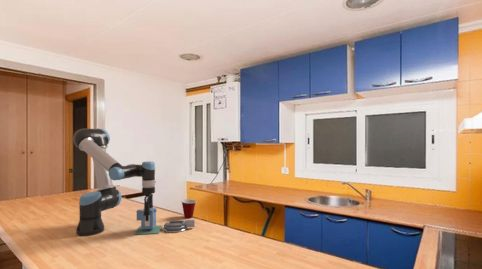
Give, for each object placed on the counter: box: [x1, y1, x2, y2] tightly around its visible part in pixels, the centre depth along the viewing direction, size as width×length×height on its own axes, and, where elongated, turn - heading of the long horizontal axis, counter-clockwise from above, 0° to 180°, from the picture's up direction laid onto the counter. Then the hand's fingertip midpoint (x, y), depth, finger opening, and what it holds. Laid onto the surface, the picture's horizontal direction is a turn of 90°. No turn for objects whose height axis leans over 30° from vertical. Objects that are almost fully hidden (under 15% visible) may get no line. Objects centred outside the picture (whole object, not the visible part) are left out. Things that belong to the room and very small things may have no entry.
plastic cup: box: [180, 198, 197, 219], centre depth 198 cm, size 11×11×12 cm
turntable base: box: [162, 226, 189, 234], centre depth 173 cm, size 15×15×1 cm
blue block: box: [136, 207, 158, 229], centre depth 170 cm, size 7×12×11 cm, turn 91°
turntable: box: [163, 218, 196, 231], centre depth 173 cm, size 14×19×4 cm
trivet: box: [133, 225, 163, 236], centre depth 170 cm, size 14×14×1 cm
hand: (148, 223), depth 170 cm, fingers closed on blue block, 7 cm apart
